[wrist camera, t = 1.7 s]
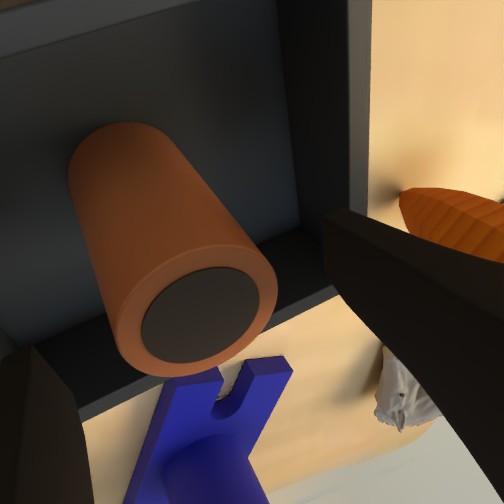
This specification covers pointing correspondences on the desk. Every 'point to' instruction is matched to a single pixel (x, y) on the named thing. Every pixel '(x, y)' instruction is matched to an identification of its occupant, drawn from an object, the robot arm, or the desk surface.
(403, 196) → the carrot
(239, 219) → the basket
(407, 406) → the seahorse
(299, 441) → the desk surface
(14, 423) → the robot arm
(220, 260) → the tube
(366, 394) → the desk surface
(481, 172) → the desk surface
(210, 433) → the mount
